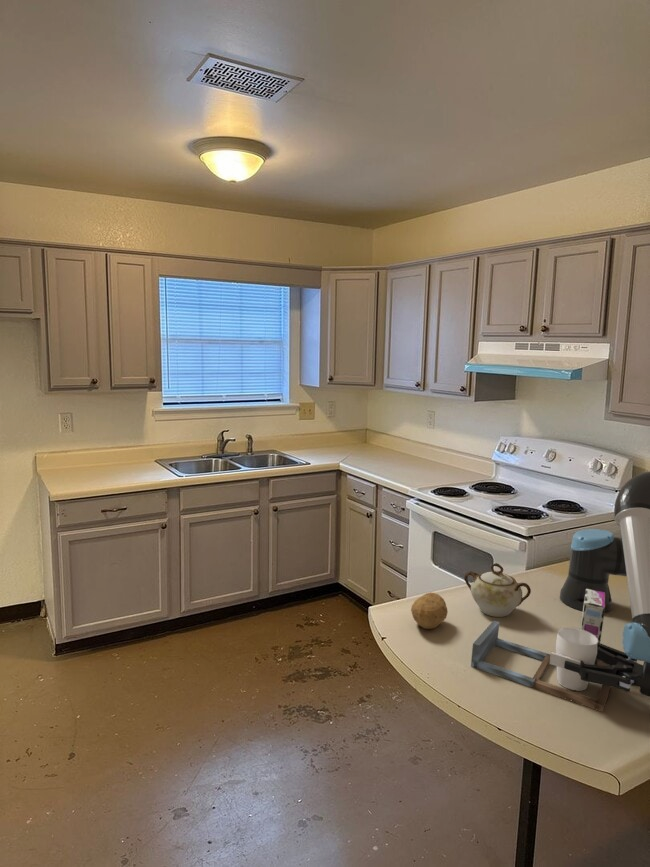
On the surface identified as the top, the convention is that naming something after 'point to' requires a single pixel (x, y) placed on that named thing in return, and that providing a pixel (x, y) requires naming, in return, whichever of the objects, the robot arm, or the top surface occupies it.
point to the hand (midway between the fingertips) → (555, 649)
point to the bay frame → (491, 640)
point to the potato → (429, 610)
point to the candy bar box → (593, 613)
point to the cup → (575, 654)
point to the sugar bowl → (496, 592)
